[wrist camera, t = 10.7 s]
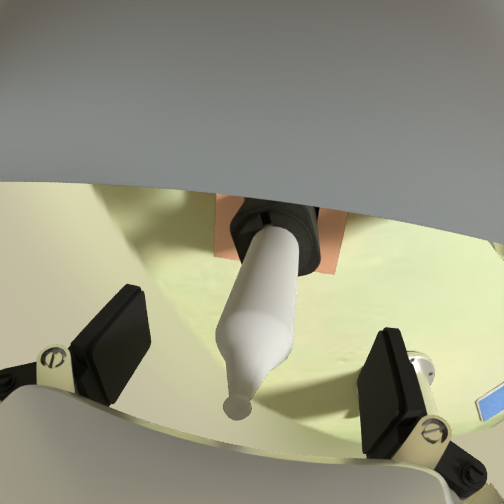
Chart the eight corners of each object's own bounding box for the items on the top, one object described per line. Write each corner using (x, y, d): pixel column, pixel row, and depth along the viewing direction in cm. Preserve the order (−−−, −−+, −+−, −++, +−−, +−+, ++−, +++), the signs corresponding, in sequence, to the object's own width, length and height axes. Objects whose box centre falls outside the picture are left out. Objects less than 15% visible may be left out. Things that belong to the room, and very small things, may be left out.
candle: (269, 223, 32) (196, 452, 9) (254, 177, 30) (120, 362, 7) (317, 211, 30) (334, 449, 8) (303, 163, 28) (304, 345, 6)
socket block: (330, 251, 32) (334, 274, 27) (226, 236, 33) (213, 256, 29) (349, 145, 27) (358, 151, 22) (233, 130, 28) (219, 133, 24)
